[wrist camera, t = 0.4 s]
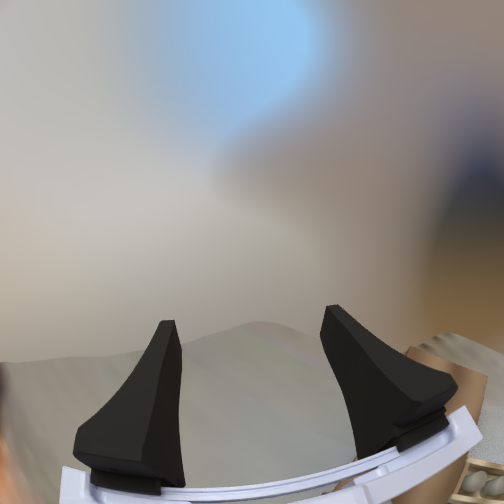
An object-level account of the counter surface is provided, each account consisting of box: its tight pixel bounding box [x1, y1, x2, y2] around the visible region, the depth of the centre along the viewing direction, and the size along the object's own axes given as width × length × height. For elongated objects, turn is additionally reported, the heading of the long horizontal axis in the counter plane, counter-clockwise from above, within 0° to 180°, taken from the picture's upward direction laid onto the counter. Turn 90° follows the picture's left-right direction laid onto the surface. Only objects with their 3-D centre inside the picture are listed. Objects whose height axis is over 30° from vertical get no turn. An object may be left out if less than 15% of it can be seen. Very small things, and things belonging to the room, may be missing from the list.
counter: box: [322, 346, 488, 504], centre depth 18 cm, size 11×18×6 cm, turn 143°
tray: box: [447, 457, 504, 504], centre depth 11 cm, size 10×5×4 cm, turn 53°
